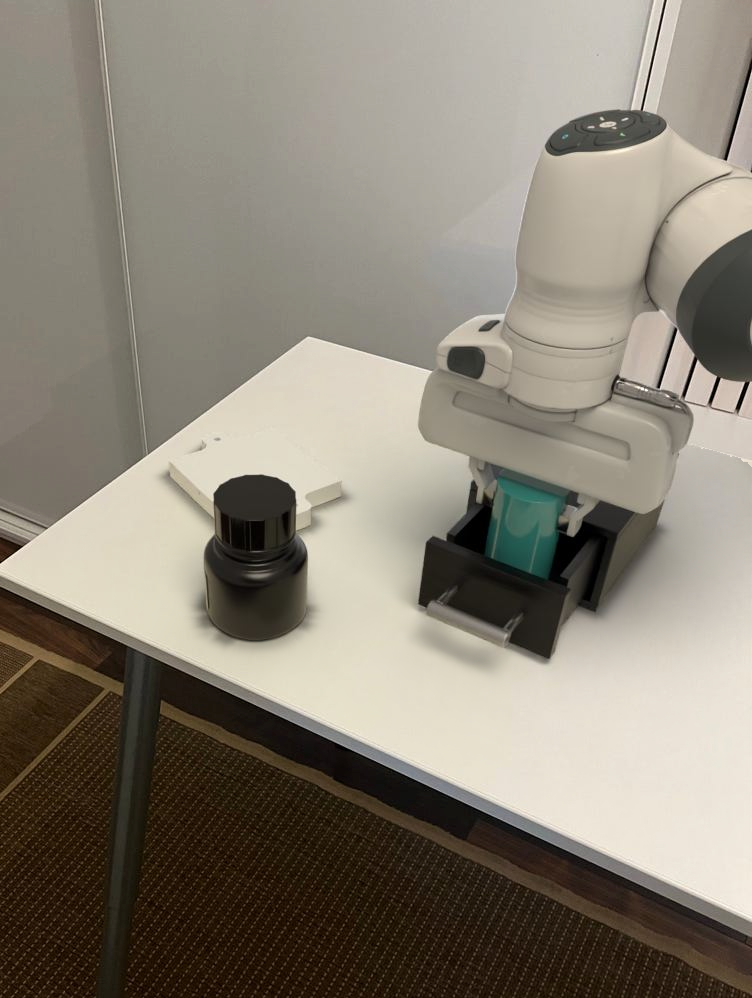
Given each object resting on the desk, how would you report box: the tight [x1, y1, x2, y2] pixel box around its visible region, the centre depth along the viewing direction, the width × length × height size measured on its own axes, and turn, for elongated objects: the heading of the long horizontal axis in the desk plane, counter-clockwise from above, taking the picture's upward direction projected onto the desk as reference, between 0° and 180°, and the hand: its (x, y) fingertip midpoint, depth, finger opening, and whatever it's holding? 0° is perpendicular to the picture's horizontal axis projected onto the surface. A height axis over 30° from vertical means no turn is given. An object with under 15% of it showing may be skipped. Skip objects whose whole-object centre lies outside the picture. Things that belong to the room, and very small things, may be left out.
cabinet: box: [465, 452, 680, 613], centre depth 91 cm, size 16×14×9 cm
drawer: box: [417, 503, 607, 660], centre depth 84 cm, size 19×12×7 cm, turn 145°
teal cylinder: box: [484, 468, 570, 580], centre depth 82 cm, size 6×6×11 cm
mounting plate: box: [168, 426, 343, 532], centre depth 101 cm, size 18×13×2 cm
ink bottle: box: [203, 474, 309, 641], centre depth 83 cm, size 10×9×12 cm
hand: (526, 516), depth 81 cm, fingers closed on teal cylinder, 6 cm apart
